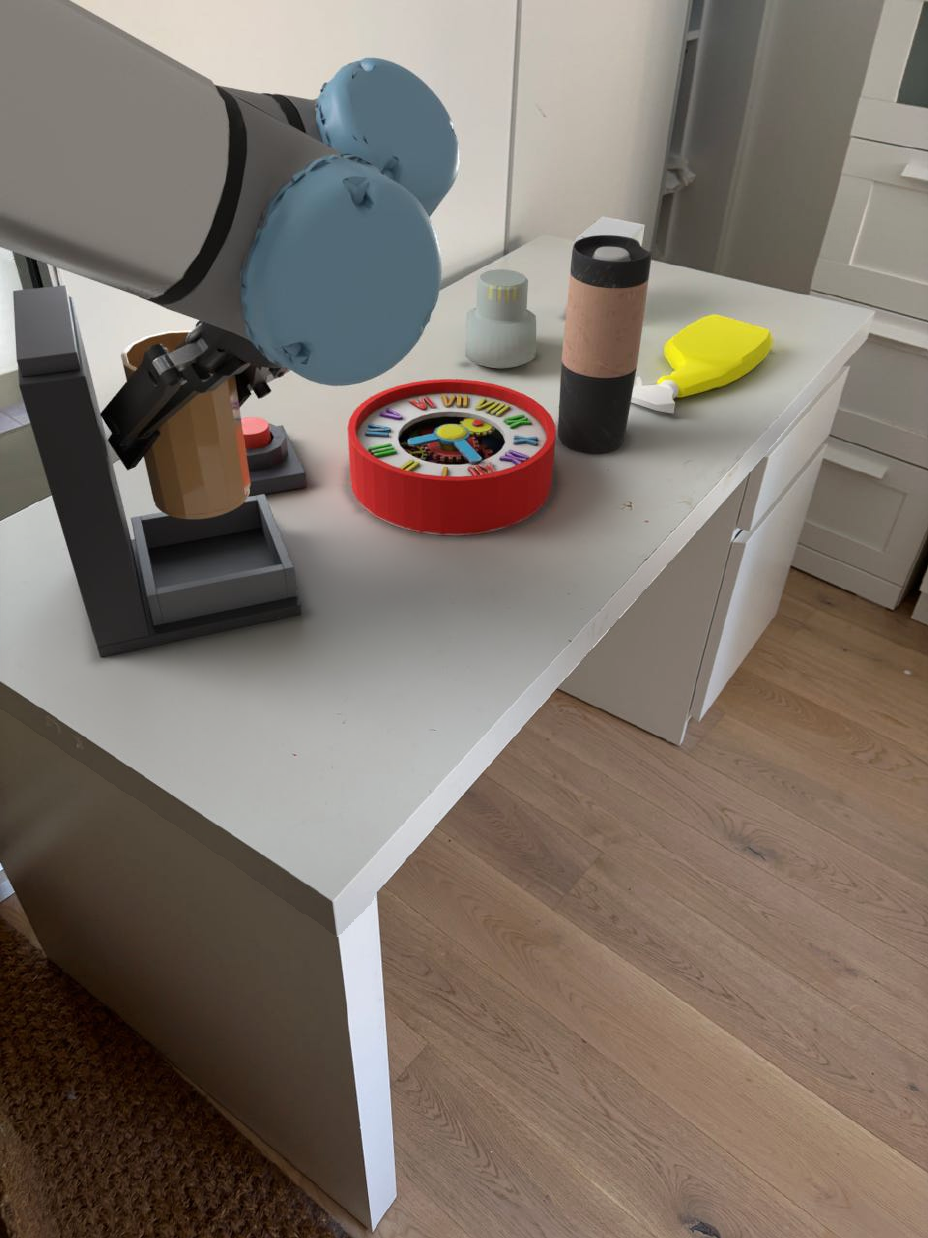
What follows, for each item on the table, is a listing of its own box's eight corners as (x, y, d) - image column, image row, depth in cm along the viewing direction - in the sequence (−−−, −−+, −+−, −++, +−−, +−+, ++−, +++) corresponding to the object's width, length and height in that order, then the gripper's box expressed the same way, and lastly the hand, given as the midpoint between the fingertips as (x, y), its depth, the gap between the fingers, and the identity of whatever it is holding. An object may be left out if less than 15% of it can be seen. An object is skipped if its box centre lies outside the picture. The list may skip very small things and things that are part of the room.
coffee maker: (301, 614, 80) (269, 333, 64) (99, 657, 75) (13, 366, 60) (266, 523, 90) (231, 262, 74) (86, 557, 85) (9, 285, 70)
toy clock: (497, 365, 103) (595, 453, 89) (495, 415, 107) (588, 506, 93) (319, 399, 96) (394, 500, 82) (323, 451, 100) (396, 555, 86)
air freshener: (534, 379, 114) (540, 296, 107) (464, 377, 114) (466, 294, 107) (531, 341, 122) (536, 261, 116) (466, 339, 122) (468, 259, 116)
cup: (160, 528, 74) (127, 382, 66) (147, 477, 79) (116, 337, 72) (259, 509, 76) (238, 366, 68) (240, 461, 81) (219, 324, 74)
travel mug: (545, 446, 102) (561, 254, 89) (567, 414, 107) (585, 229, 94) (615, 461, 100) (642, 267, 87) (634, 428, 105) (661, 241, 92)
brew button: (274, 447, 94) (272, 431, 93) (237, 453, 93) (235, 437, 92) (266, 430, 97) (264, 414, 96) (230, 435, 96) (228, 419, 95)
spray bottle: (778, 354, 120) (683, 430, 106) (699, 330, 125) (598, 400, 111) (783, 331, 118) (687, 406, 104) (703, 308, 124) (601, 376, 109)
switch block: (306, 487, 95) (303, 455, 92) (224, 501, 92) (219, 469, 90) (284, 439, 102) (281, 409, 100) (207, 451, 100) (202, 420, 97)
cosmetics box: (611, 328, 126) (621, 246, 119) (565, 318, 128) (572, 237, 121) (635, 300, 133) (646, 222, 126) (591, 292, 135) (600, 214, 128)
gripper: (174, 397, 53) (79, 528, 71) (428, 292, 65) (290, 427, 83) (96, 275, 52) (20, 440, 70) (368, 192, 64) (243, 351, 82)
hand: (167, 433), depth 77 cm, fingers closed on cup, 8 cm apart
